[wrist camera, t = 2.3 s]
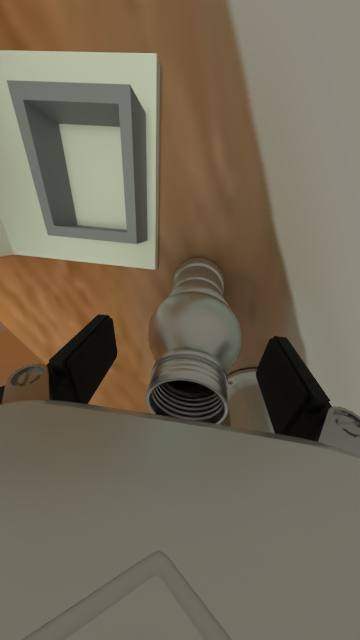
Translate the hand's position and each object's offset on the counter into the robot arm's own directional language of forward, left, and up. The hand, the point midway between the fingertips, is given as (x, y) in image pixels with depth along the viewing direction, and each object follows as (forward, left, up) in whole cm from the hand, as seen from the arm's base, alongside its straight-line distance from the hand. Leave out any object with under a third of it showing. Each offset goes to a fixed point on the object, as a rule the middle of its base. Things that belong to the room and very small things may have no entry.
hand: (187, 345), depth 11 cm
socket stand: (+9, +17, -16) cm, 25 cm away
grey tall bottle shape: (-1, 0, -17) cm, 17 cm away
